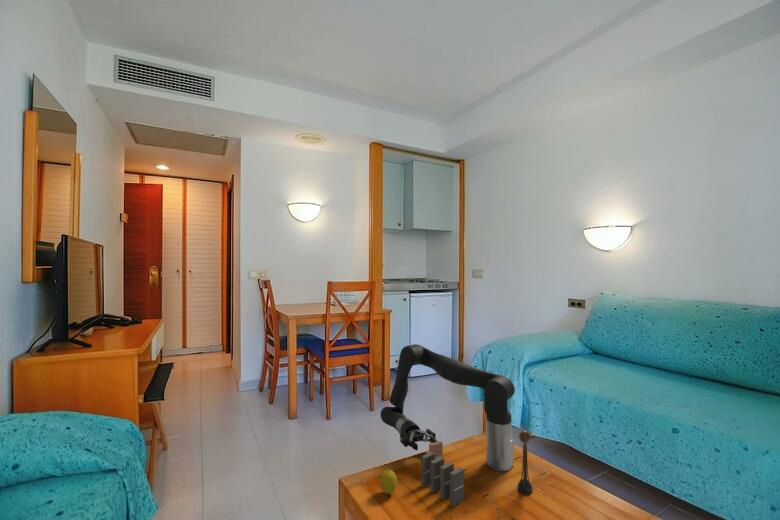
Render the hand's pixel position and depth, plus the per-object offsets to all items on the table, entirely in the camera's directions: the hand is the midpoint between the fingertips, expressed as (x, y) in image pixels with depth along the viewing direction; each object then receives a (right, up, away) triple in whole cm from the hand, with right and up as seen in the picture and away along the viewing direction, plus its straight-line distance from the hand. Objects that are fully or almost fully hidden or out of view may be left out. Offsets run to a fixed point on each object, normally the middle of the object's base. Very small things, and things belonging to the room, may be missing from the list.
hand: (426, 445), depth 142 cm
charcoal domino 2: (+2, -6, -18) cm, 19 cm away
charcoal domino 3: (+5, -6, -21) cm, 23 cm away
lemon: (-15, -6, -21) cm, 26 cm away
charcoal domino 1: (-1, -6, -15) cm, 16 cm away
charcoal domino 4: (+7, -6, -25) cm, 26 cm away
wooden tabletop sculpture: (+32, -6, -18) cm, 38 cm away
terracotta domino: (+3, -6, -6) cm, 9 cm away
